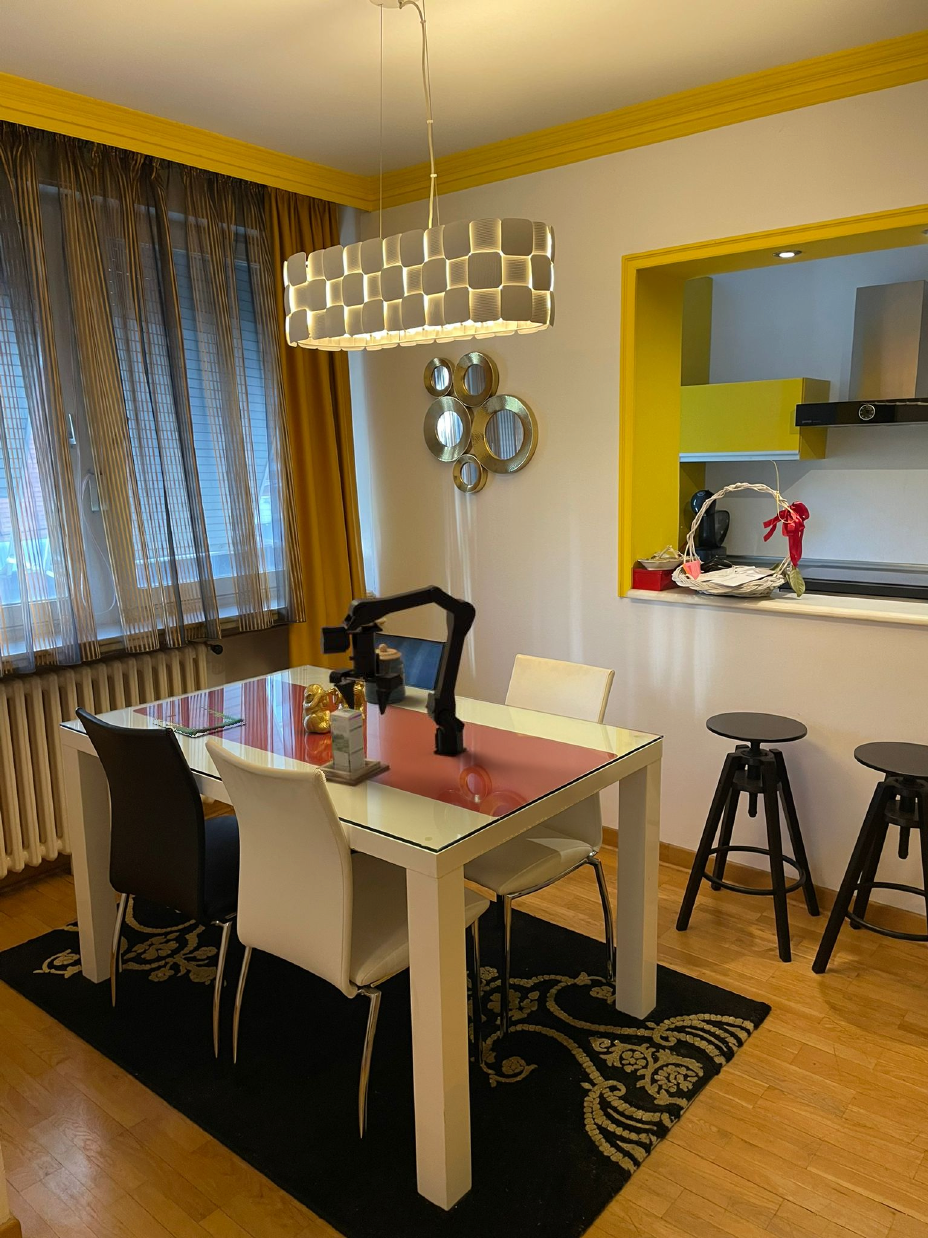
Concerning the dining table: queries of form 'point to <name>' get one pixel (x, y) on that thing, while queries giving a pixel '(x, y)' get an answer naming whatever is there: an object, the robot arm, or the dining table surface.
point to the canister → (395, 668)
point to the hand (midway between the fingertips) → (367, 712)
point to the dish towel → (195, 731)
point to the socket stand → (356, 777)
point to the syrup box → (347, 740)
